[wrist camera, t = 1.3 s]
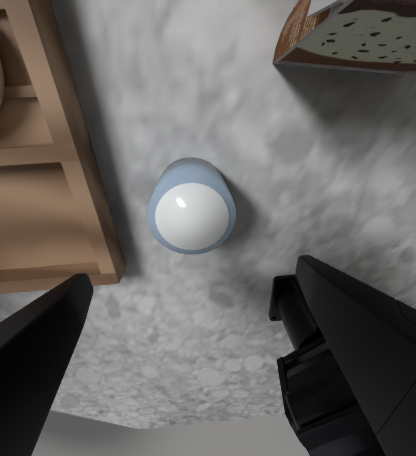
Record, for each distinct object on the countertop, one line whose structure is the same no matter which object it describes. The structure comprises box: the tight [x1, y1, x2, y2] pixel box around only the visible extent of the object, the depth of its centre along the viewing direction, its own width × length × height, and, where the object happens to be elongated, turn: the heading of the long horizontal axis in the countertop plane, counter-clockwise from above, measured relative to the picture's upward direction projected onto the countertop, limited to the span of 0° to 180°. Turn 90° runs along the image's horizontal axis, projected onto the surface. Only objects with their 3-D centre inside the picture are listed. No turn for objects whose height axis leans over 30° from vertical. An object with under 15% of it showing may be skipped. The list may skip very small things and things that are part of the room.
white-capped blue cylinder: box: [147, 158, 236, 254], centre depth 16 cm, size 6×6×5 cm
